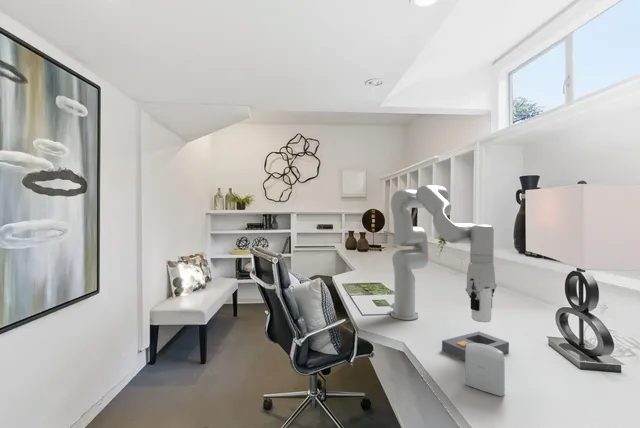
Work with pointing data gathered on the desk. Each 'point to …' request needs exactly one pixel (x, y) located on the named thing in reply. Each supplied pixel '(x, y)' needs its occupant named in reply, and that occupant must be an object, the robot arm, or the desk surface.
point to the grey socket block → (459, 343)
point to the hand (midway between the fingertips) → (481, 308)
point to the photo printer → (485, 368)
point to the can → (483, 306)
